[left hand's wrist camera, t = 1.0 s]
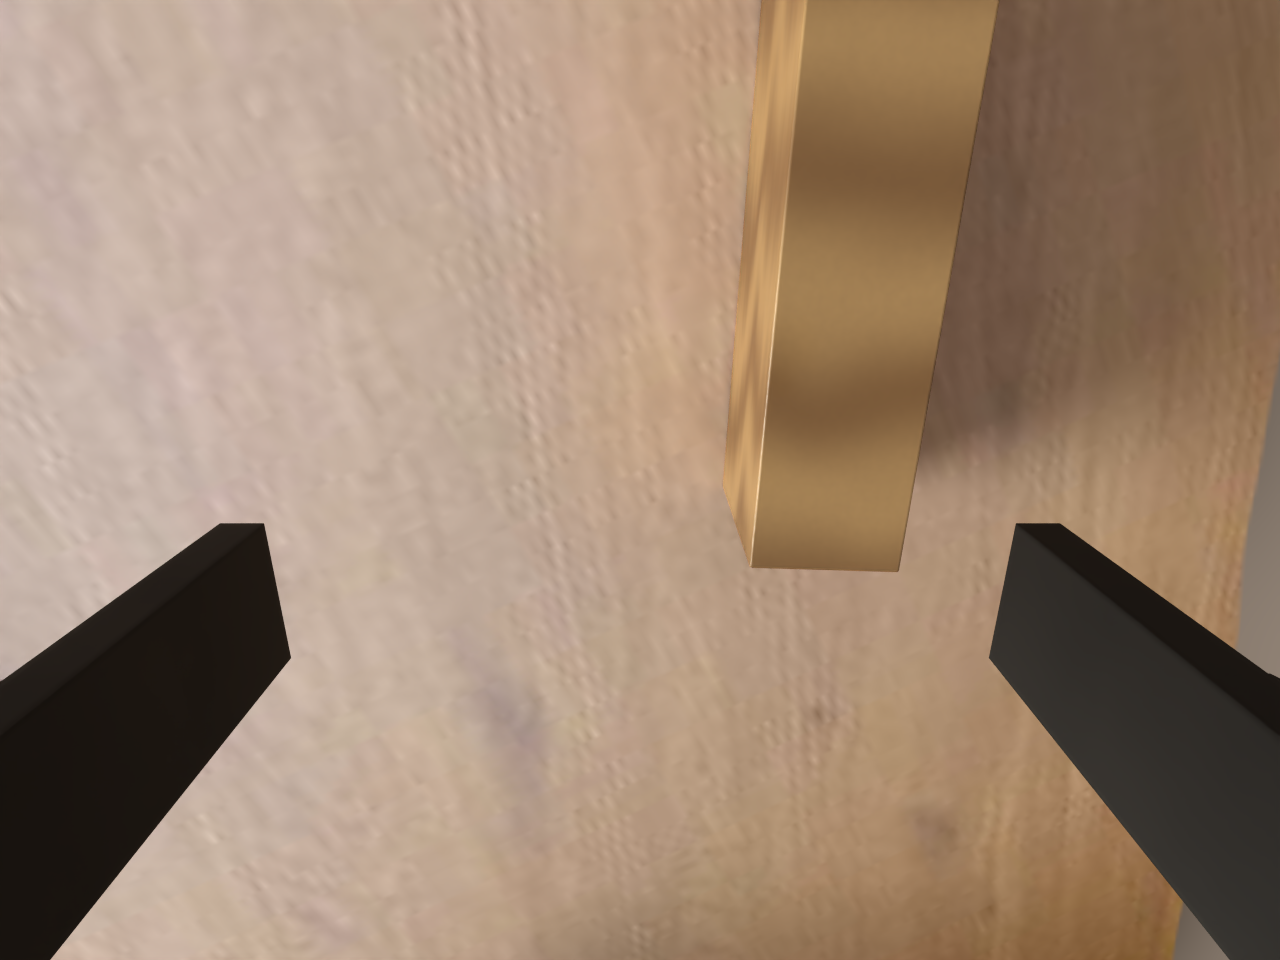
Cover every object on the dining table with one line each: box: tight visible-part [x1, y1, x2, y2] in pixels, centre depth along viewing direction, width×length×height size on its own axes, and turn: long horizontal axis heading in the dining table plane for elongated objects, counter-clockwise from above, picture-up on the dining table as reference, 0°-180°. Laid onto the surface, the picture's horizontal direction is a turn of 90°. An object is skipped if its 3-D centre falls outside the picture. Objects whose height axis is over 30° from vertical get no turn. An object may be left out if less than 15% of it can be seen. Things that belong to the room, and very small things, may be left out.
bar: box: [723, 0, 1000, 572], centre depth 24 cm, size 24×5×8 cm, turn 178°
